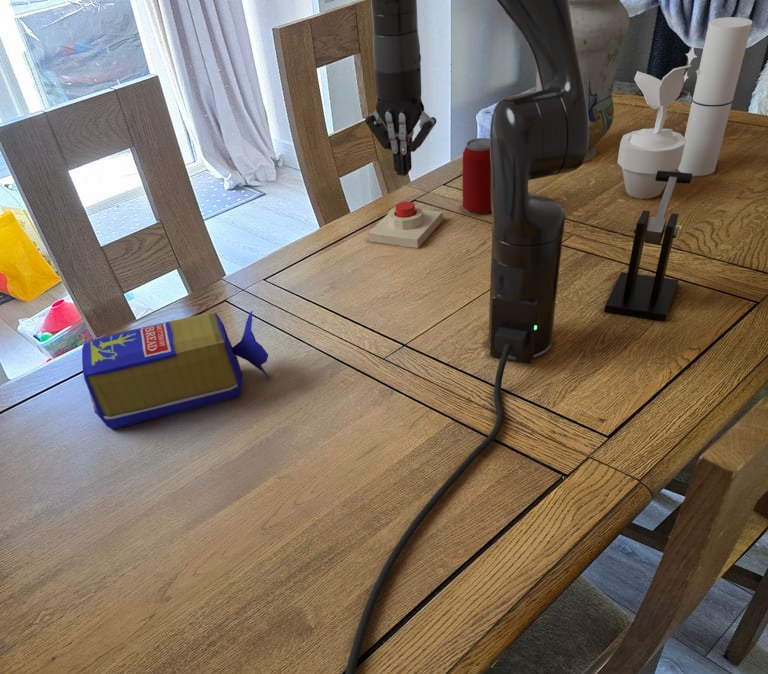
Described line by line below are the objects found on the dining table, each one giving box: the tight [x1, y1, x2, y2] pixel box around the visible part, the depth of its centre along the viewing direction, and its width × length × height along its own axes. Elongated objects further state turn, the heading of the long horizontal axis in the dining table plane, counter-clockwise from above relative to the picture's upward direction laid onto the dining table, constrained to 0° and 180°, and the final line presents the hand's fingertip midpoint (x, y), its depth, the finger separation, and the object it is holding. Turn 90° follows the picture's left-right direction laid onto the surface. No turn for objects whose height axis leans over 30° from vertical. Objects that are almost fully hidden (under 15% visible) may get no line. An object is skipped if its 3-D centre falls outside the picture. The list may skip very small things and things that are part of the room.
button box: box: [368, 205, 444, 249], centre depth 131 cm, size 12×10×4 cm
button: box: [394, 201, 416, 218], centre depth 130 cm, size 4×4×2 cm
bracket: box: [603, 209, 680, 322], centre depth 105 cm, size 11×9×13 cm
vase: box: [535, 0, 630, 163], centre depth 141 cm, size 18×18×30 cm
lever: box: [644, 171, 693, 246], centre depth 103 cm, size 13×5×2 cm, turn 154°
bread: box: [81, 310, 270, 430], centre depth 97 cm, size 10×25×10 cm, turn 108°
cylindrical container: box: [677, 16, 753, 177], centre depth 133 cm, size 7×7×25 cm
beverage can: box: [462, 137, 492, 215], centre depth 132 cm, size 7×7×12 cm
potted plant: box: [617, 43, 702, 200], centre depth 127 cm, size 13×12×25 cm
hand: (403, 173), depth 125 cm, fingers closed
